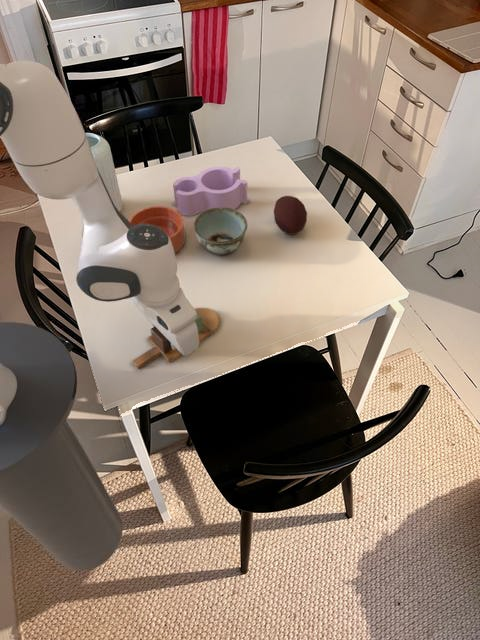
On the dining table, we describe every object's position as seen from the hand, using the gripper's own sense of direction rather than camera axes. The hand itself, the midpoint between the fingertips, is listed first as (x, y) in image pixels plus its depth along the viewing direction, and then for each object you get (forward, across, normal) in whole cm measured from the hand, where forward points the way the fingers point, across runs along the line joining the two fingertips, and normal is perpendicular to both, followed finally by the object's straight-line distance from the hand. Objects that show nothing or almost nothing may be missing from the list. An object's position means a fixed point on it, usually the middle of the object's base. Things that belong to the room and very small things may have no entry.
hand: (166, 338), depth 110 cm
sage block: (+1, 0, +6) cm, 6 cm away
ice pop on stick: (+2, 0, +3) cm, 3 cm away
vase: (+3, -50, +14) cm, 52 cm away
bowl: (+3, -17, +30) cm, 34 cm away
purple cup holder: (+3, -34, +40) cm, 52 cm away
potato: (+3, -11, +48) cm, 50 cm away
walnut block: (+1, 0, 0) cm, 1 cm away
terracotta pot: (+2, -30, +18) cm, 35 cm away
